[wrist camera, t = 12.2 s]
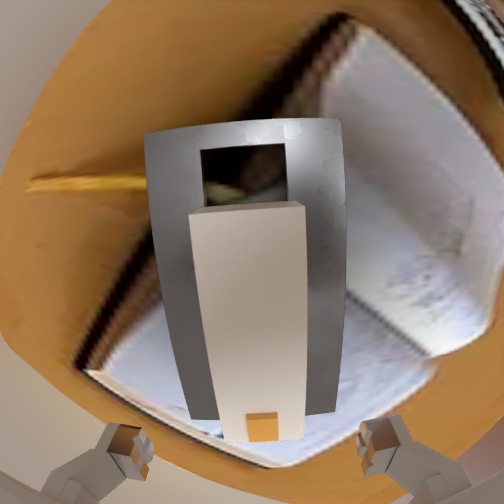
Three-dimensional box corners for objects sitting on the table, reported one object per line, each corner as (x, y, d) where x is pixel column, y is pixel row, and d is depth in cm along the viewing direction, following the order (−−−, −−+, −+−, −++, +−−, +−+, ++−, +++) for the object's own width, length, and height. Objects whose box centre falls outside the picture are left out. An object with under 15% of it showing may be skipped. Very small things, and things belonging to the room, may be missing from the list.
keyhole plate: (163, 141, 21) (143, 133, 16) (324, 128, 20) (340, 118, 16) (198, 389, 26) (191, 419, 22) (325, 382, 26) (334, 411, 22)
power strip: (209, 202, 21) (185, 216, 14) (288, 196, 21) (307, 207, 13) (231, 385, 25) (224, 448, 18) (293, 381, 25) (304, 444, 17)
